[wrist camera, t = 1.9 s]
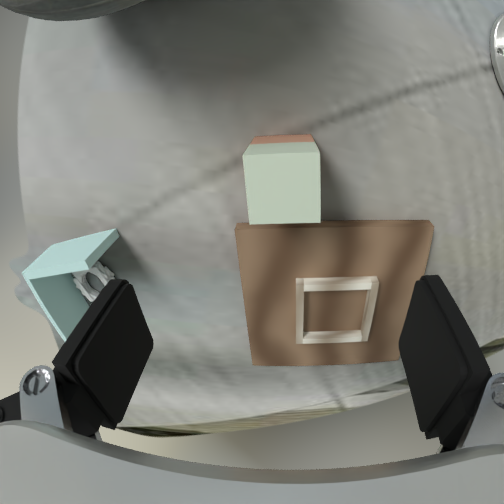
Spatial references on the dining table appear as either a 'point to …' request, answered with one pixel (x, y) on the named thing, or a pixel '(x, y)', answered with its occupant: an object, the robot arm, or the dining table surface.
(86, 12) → the bowl
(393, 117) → the dining table surface
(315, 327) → the walnut board
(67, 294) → the right angle wall
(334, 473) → the robot arm
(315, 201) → the stack block
